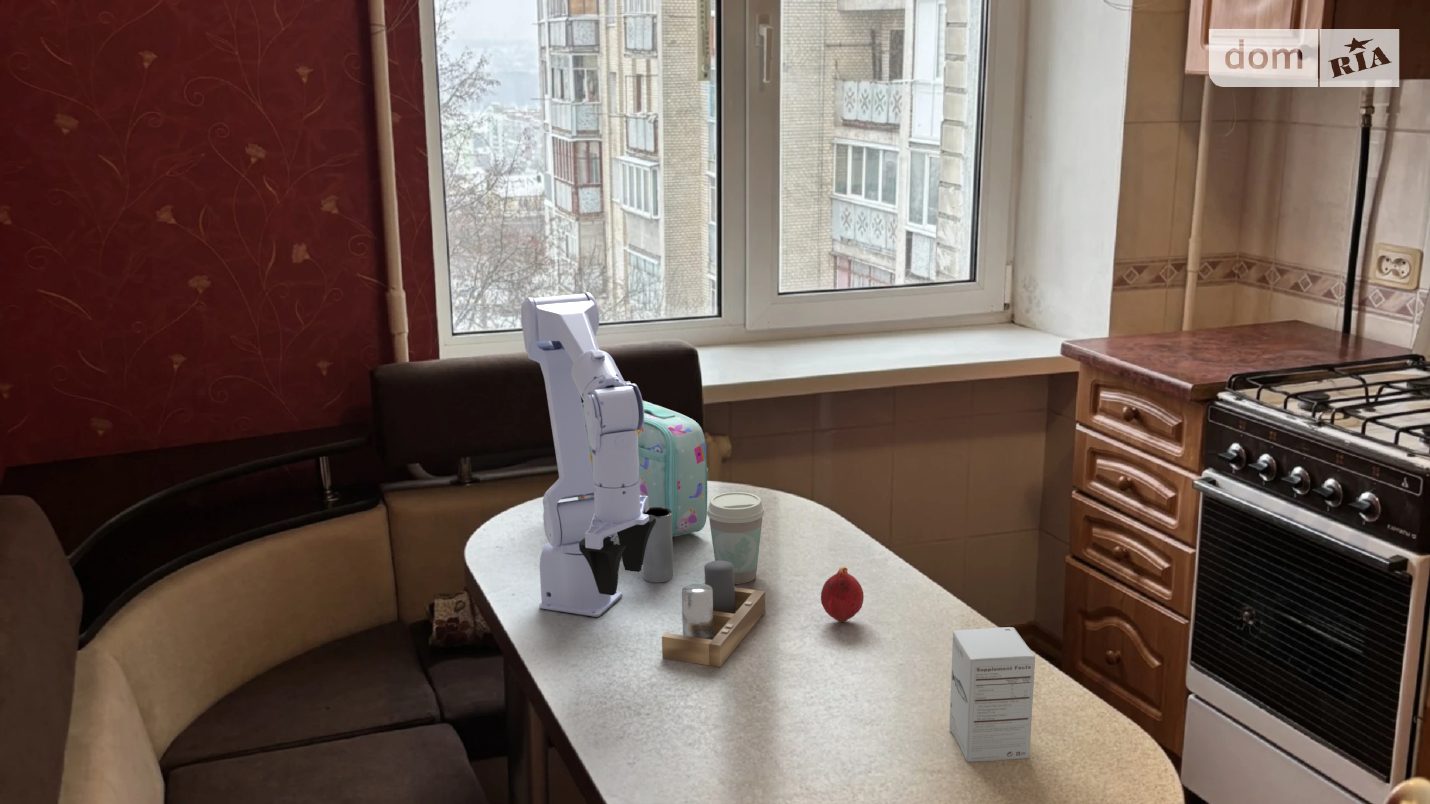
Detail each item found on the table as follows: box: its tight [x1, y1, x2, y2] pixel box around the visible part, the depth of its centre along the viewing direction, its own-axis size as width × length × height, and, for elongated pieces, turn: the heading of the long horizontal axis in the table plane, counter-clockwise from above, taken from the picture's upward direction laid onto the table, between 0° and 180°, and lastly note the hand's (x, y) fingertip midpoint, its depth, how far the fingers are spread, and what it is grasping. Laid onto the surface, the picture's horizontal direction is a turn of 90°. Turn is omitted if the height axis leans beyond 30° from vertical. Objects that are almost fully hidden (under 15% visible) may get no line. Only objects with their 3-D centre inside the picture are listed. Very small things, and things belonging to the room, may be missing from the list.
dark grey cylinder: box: [703, 560, 737, 614], centre depth 173 cm, size 4×4×8 cm
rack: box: [661, 586, 766, 668], centre depth 170 cm, size 8×18×3 cm, turn 159°
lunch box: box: [577, 400, 708, 538], centre depth 208 cm, size 27×10×21 cm, turn 43°
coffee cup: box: [707, 491, 766, 585], centre depth 187 cm, size 8×9×12 cm
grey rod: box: [681, 583, 715, 640], centre depth 166 cm, size 4×4×8 cm
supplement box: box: [948, 626, 1036, 763], centre depth 141 cm, size 7×7×13 cm
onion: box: [820, 565, 865, 623], centre depth 172 cm, size 6×6×8 cm
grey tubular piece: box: [642, 507, 674, 583], centre depth 188 cm, size 4×4×10 cm
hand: (620, 581), depth 162 cm, fingers open, 7 cm apart
